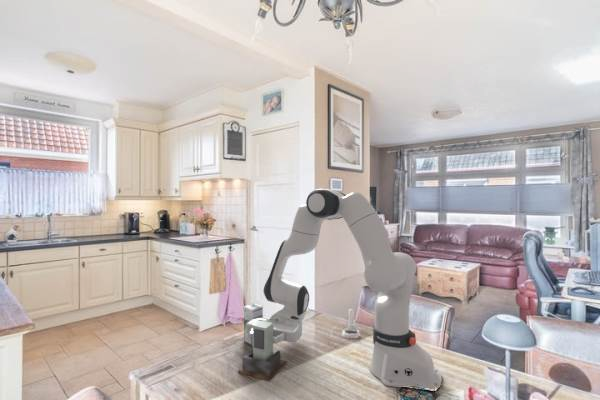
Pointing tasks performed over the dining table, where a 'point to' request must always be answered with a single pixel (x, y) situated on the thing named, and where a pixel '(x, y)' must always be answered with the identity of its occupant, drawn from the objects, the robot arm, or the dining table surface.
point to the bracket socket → (262, 366)
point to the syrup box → (251, 318)
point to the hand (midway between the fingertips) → (261, 338)
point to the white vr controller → (351, 327)
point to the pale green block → (262, 340)
